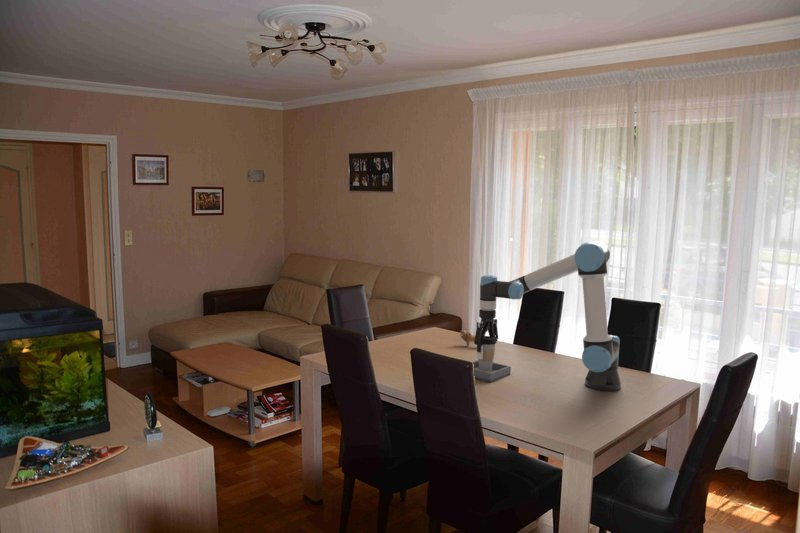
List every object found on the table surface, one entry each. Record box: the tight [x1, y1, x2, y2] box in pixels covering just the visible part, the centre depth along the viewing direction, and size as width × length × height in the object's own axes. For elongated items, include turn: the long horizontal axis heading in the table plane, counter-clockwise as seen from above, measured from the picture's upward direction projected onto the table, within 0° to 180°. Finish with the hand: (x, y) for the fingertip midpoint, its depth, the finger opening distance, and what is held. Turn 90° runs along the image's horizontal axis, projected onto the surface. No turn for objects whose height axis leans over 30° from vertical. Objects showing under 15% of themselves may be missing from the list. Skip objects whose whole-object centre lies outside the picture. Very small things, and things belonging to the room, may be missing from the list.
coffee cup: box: [477, 335, 498, 371], centre depth 279 cm, size 9×9×15 cm
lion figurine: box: [459, 329, 475, 348], centre depth 331 cm, size 15×5×9 cm, turn 65°
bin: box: [472, 359, 512, 383], centre depth 280 cm, size 17×17×4 cm
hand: (485, 356), depth 279 cm, fingers closed on coffee cup, 9 cm apart
